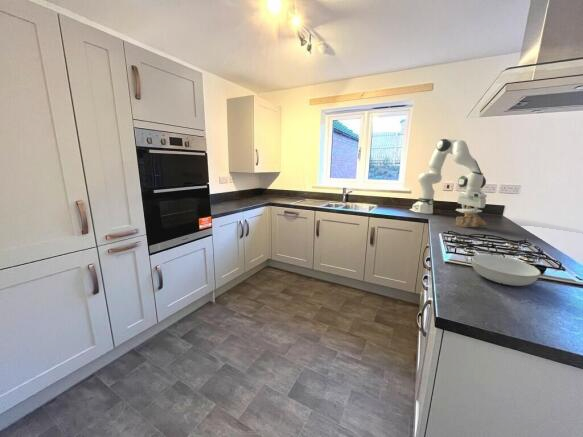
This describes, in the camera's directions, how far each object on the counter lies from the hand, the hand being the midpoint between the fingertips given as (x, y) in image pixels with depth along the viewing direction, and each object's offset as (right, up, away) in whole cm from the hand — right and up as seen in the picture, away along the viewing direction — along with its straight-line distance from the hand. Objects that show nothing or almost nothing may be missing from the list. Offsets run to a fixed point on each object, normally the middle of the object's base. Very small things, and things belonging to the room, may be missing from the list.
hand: (468, 211), depth 183 cm
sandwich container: (+14, -10, +12) cm, 21 cm away
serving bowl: (-51, -31, -86) cm, 104 cm away
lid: (0, 0, 0) cm, 0 cm away
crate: (0, -11, +2) cm, 12 cm away
